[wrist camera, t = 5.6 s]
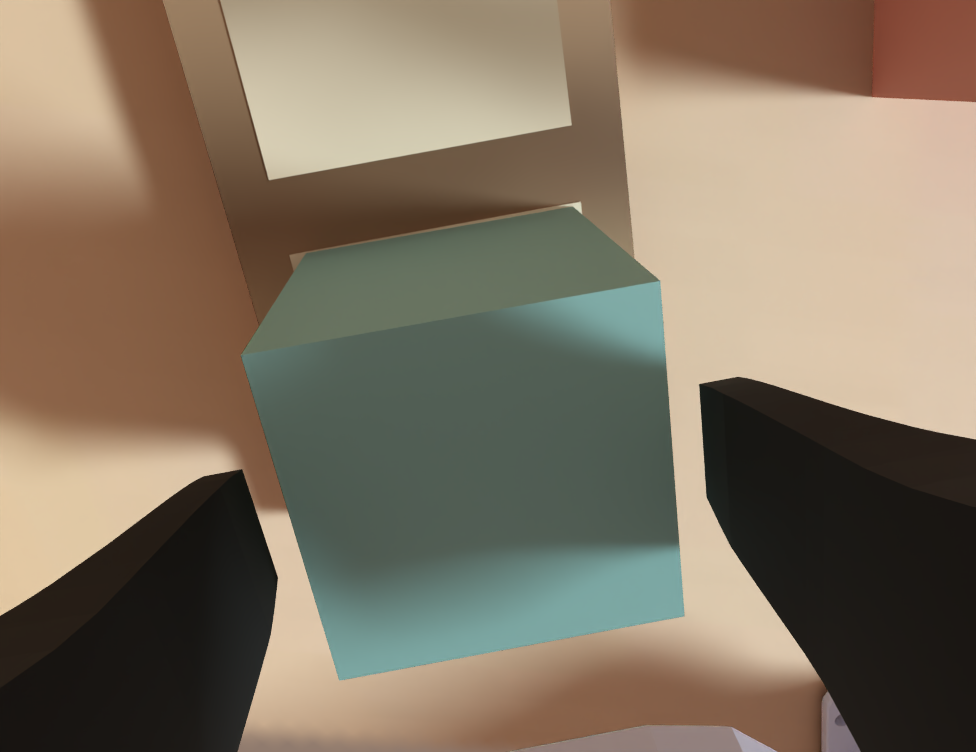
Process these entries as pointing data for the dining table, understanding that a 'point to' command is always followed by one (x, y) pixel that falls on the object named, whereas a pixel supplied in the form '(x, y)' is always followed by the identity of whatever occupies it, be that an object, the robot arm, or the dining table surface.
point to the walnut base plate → (400, 119)
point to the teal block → (473, 439)
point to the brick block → (925, 49)
